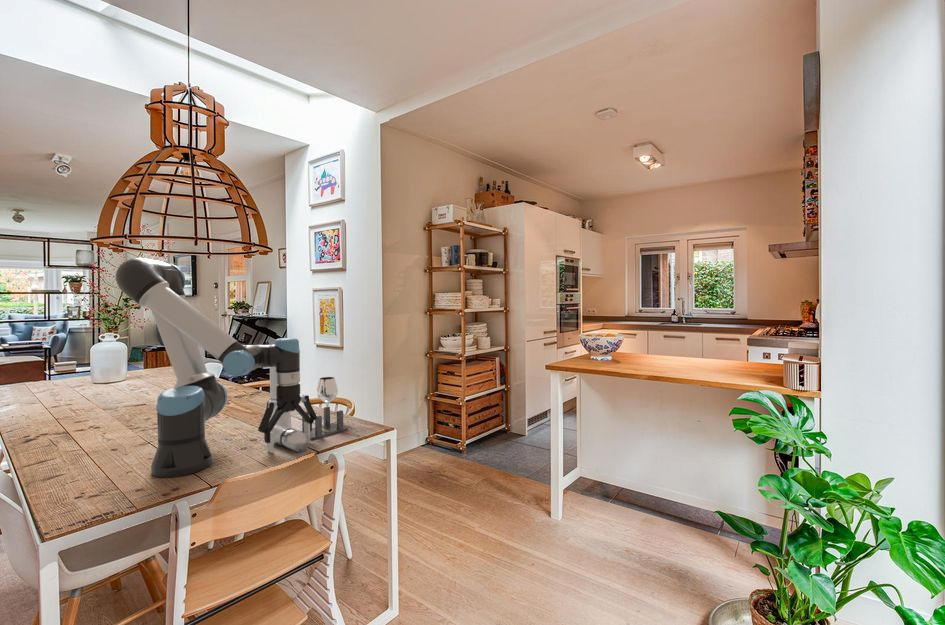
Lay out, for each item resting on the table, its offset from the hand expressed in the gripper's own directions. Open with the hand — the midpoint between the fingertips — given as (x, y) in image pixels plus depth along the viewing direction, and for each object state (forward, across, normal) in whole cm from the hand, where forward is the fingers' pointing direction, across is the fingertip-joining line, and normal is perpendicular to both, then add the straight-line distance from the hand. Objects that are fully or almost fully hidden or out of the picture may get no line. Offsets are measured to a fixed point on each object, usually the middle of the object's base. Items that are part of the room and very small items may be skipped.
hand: (289, 446), depth 147 cm
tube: (0, 0, 0) cm, 0 cm away
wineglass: (0, +25, +16) cm, 30 cm away
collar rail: (0, +16, +5) cm, 17 cm away
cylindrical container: (0, +8, +21) cm, 23 cm away
